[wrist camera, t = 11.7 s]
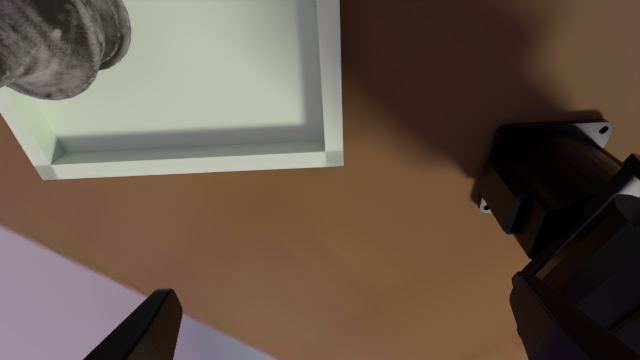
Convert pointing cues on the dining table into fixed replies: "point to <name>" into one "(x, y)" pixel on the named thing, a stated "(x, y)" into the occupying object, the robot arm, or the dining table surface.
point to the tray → (198, 95)
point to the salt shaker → (60, 44)
